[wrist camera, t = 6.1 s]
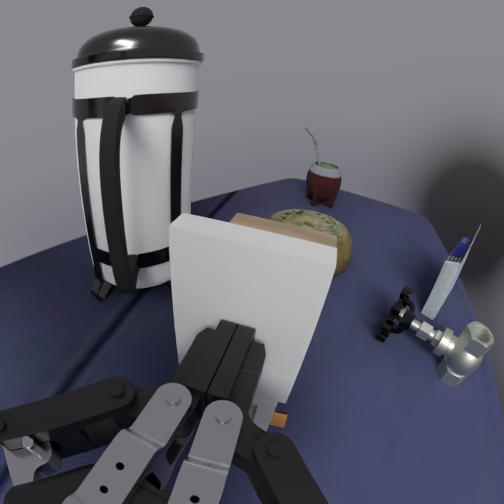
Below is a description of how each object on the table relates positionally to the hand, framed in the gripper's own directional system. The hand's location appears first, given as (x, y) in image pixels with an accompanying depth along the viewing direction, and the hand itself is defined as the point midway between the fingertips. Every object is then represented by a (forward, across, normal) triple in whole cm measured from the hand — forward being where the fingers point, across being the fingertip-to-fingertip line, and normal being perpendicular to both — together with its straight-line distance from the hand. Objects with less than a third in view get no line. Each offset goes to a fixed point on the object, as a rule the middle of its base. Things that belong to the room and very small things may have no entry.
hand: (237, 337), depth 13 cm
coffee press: (+15, +16, +13) cm, 25 cm away
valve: (+14, -18, +13) cm, 26 cm away
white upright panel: (+2, 0, +10) cm, 10 cm away
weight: (+30, -2, +13) cm, 32 cm away
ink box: (+26, -22, +13) cm, 36 cm away
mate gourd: (+50, -2, +13) cm, 52 cm away
